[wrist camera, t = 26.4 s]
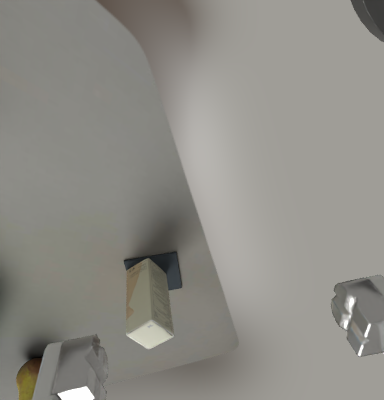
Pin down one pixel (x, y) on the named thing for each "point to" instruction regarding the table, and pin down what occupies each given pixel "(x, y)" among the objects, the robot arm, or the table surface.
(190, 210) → the table surface
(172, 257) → the mat
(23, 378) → the fruit
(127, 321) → the box
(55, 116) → the table surface
